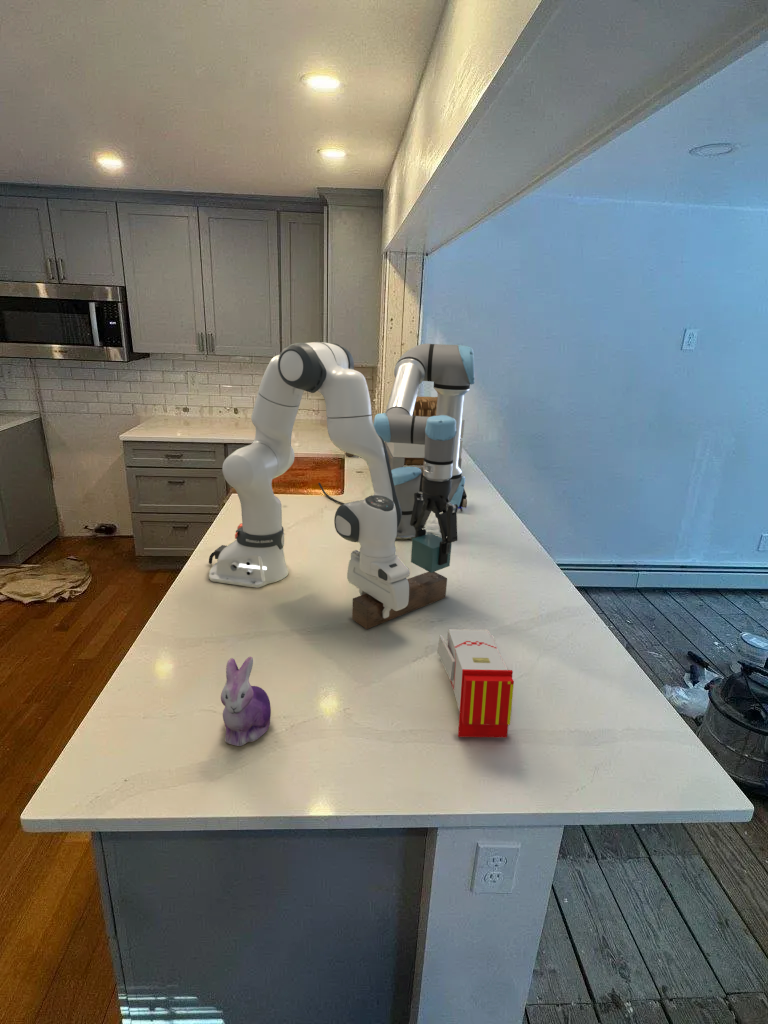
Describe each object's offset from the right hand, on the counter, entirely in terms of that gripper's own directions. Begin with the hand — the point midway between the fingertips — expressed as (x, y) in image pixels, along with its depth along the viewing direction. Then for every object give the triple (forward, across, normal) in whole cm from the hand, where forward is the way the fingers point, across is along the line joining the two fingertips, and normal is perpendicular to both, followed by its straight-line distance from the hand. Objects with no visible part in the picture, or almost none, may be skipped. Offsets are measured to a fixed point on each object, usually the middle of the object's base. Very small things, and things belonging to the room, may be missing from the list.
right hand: (430, 557), depth 153 cm
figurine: (+11, +17, -64) cm, 68 cm away
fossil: (+14, -139, +84) cm, 163 cm away
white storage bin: (+14, -92, +85) cm, 126 cm away
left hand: (+9, 0, -20) cm, 22 cm away
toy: (+11, +35, -23) cm, 43 cm away
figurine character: (+13, -47, +63) cm, 79 cm away
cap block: (+2, 0, 0) cm, 2 cm away
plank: (+12, 0, -11) cm, 16 cm away
